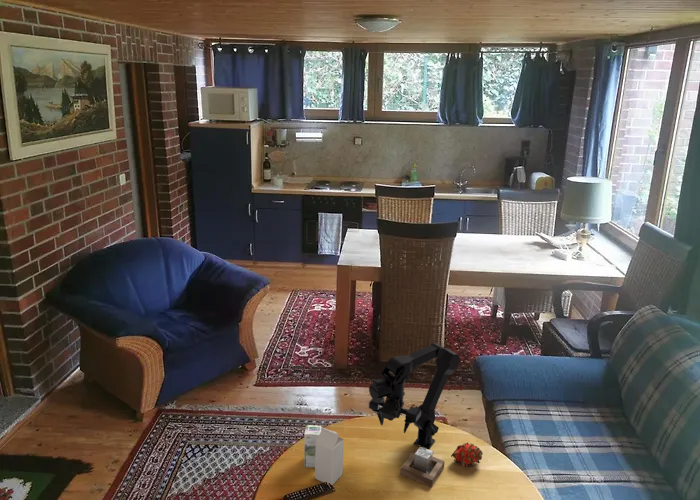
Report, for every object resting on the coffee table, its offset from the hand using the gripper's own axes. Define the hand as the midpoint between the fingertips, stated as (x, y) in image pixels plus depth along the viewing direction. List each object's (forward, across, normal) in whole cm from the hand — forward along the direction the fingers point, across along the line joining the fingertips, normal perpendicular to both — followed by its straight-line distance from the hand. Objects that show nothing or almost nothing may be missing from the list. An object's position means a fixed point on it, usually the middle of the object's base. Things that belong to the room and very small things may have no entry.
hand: (393, 428), depth 204 cm
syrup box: (+12, -24, -18) cm, 32 cm away
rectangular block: (+12, +13, -2) cm, 18 cm away
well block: (+12, +13, -2) cm, 18 cm away
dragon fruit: (+12, +26, +10) cm, 30 cm away
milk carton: (+12, -15, -22) cm, 29 cm away
